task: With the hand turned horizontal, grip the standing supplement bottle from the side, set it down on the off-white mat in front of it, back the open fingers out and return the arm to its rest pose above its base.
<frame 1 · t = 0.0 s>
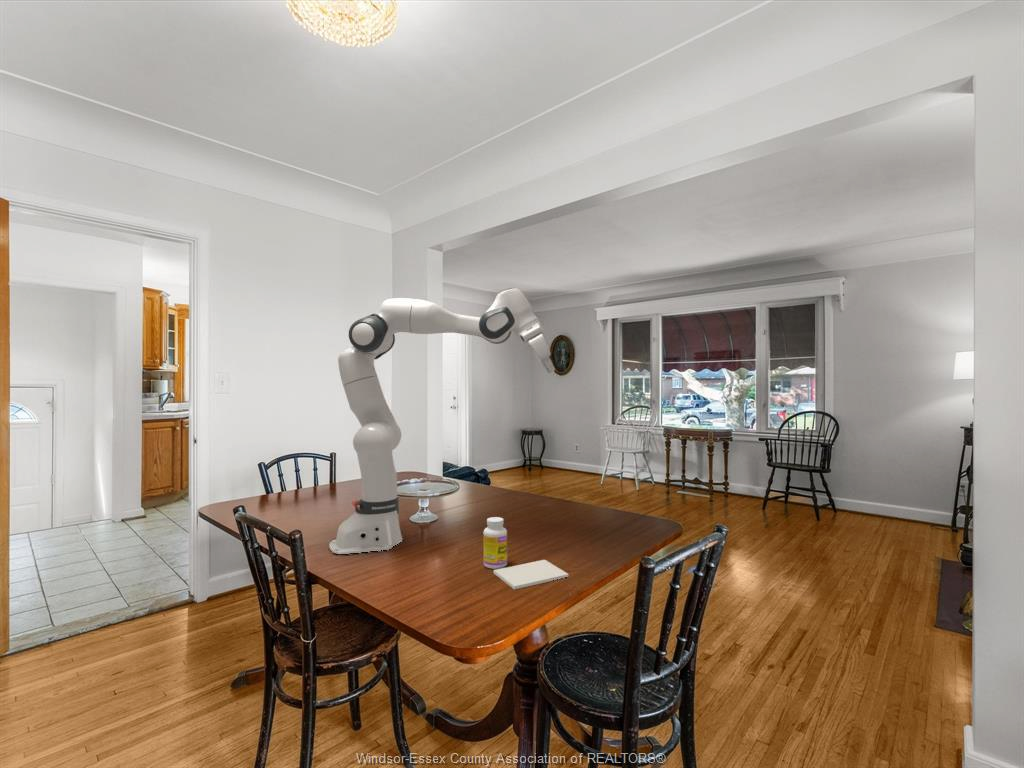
hand: (552, 371, 157), 54 cm above the table, tool tilted 30°, fingers open, 8 cm apart
off-white mat: (530, 575, 130), on the table
supplement bottle: (495, 565, 138), on the table
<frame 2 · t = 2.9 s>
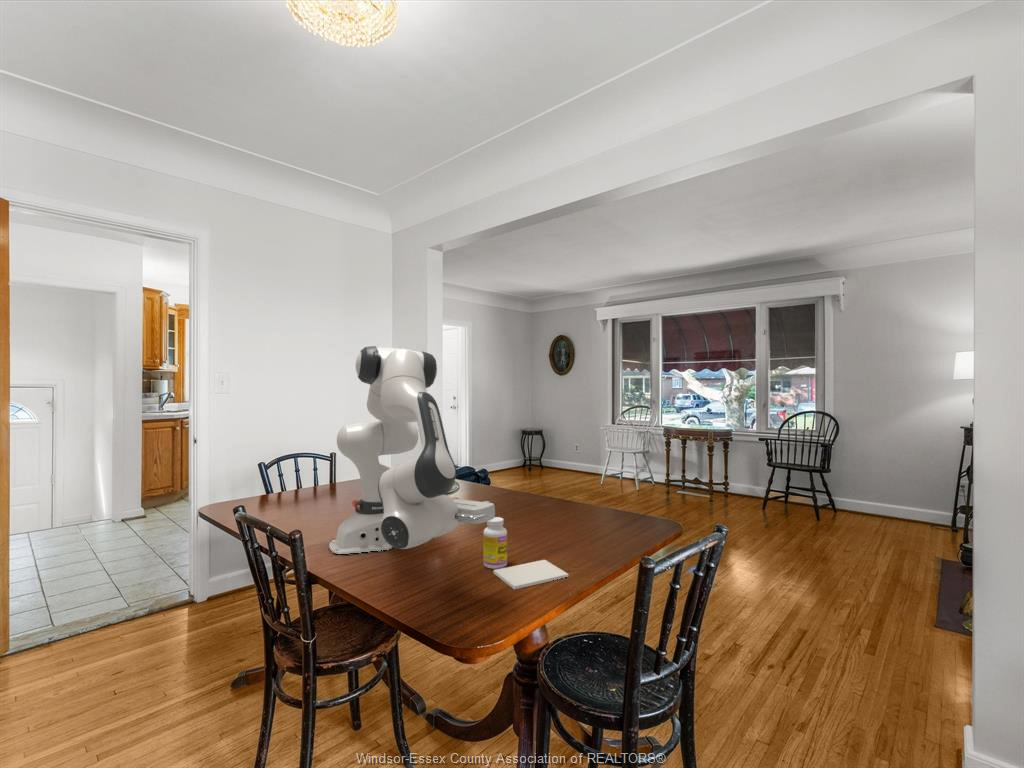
hand: (471, 502, 127), 20 cm above the table, tool horizontal, fingers open, 8 cm apart
nothing on the table moved.
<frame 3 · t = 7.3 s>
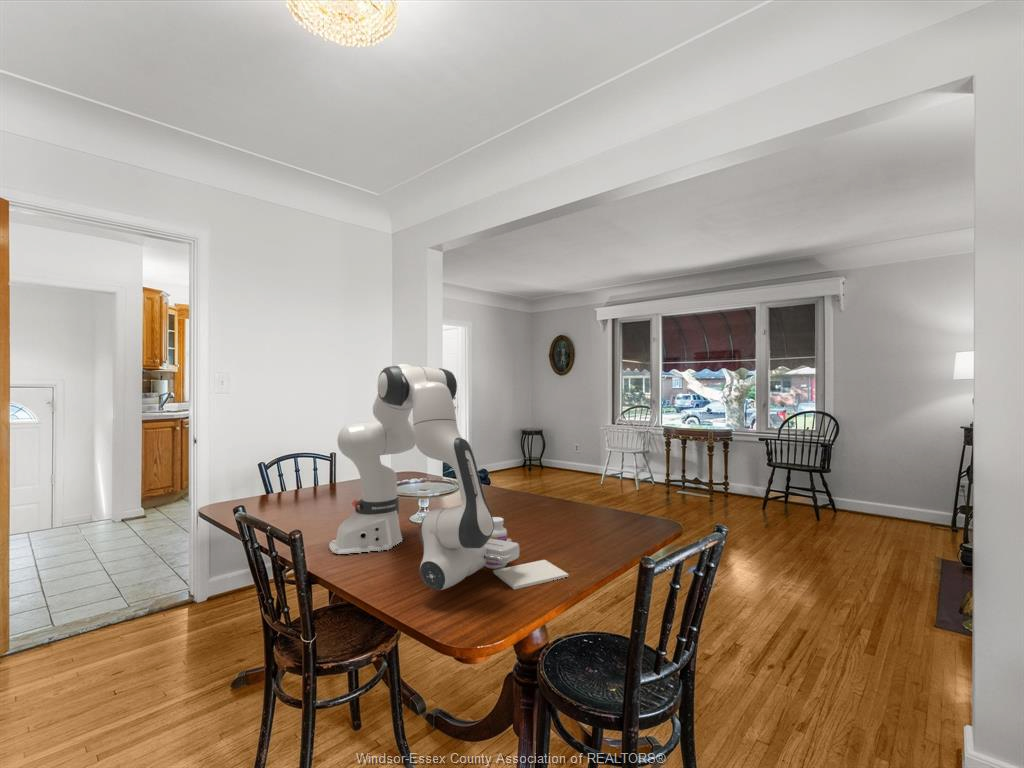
hand: (496, 539, 138), 7 cm above the table, tool horizontal, fingers closed on supplement bottle, 7 cm apart
supplement bottle: (495, 565, 138), on the table, touching gripper
when the fingers open (9 cm above the table, at t = 11.9 s): supplement bottle stays where it is, resting on off-white mat.
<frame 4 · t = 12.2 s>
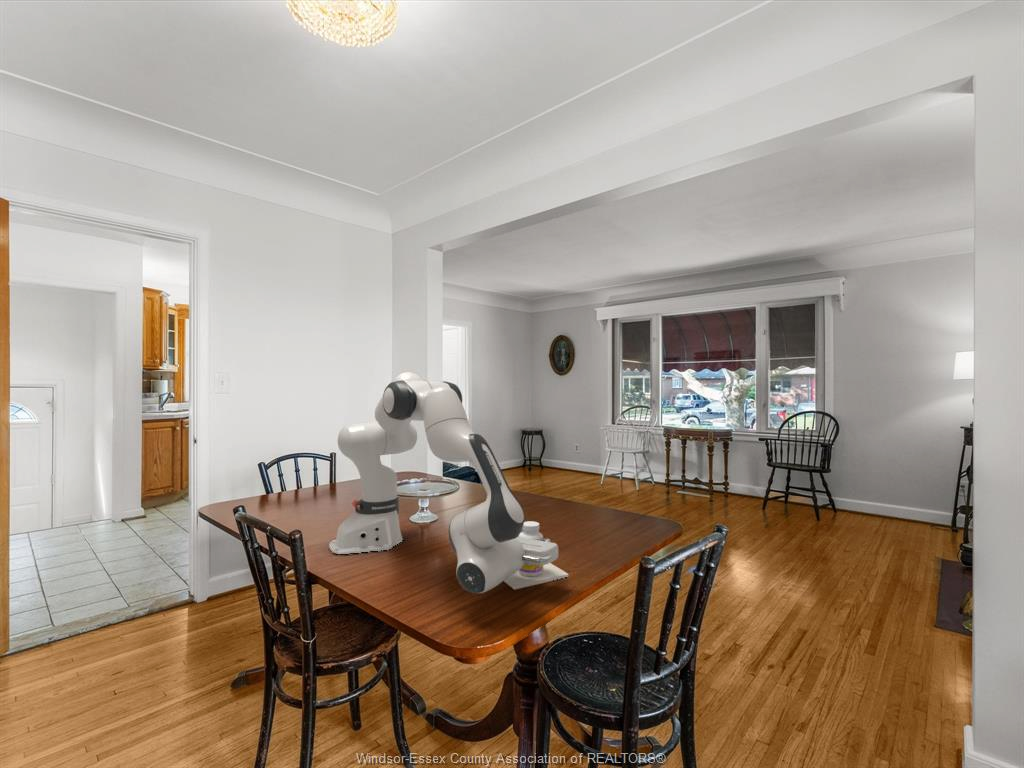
hand: (531, 539, 131), 9 cm above the table, tool horizontal, fingers open, 8 cm apart
supplement bottle: (531, 573, 130), point 1 cm above the table, touching off-white mat
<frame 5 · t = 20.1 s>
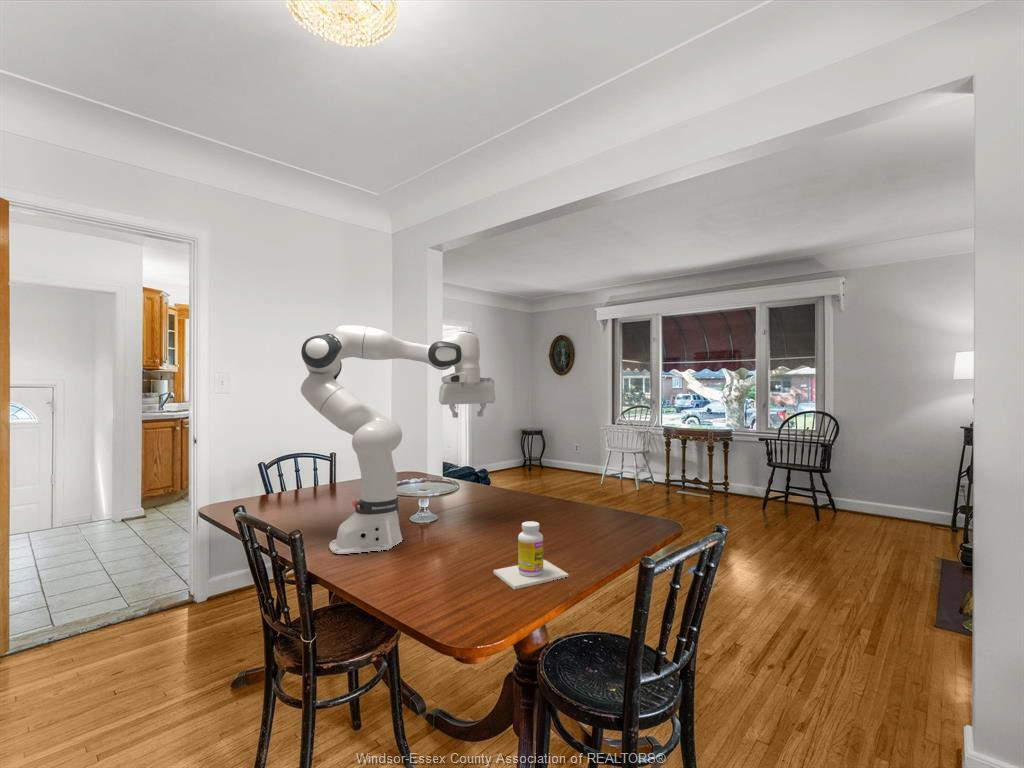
hand: (467, 417, 173), 39 cm above the table, tool pointing down, fingers open, 8 cm apart
nothing on the table moved.
at the end: supplement bottle inside the target area on the off-white mat (0.2 cm from its centre), point 0.6 cm above the off-white mat's base; supplement bottle tilted 0°; the gripper is holding nothing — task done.
